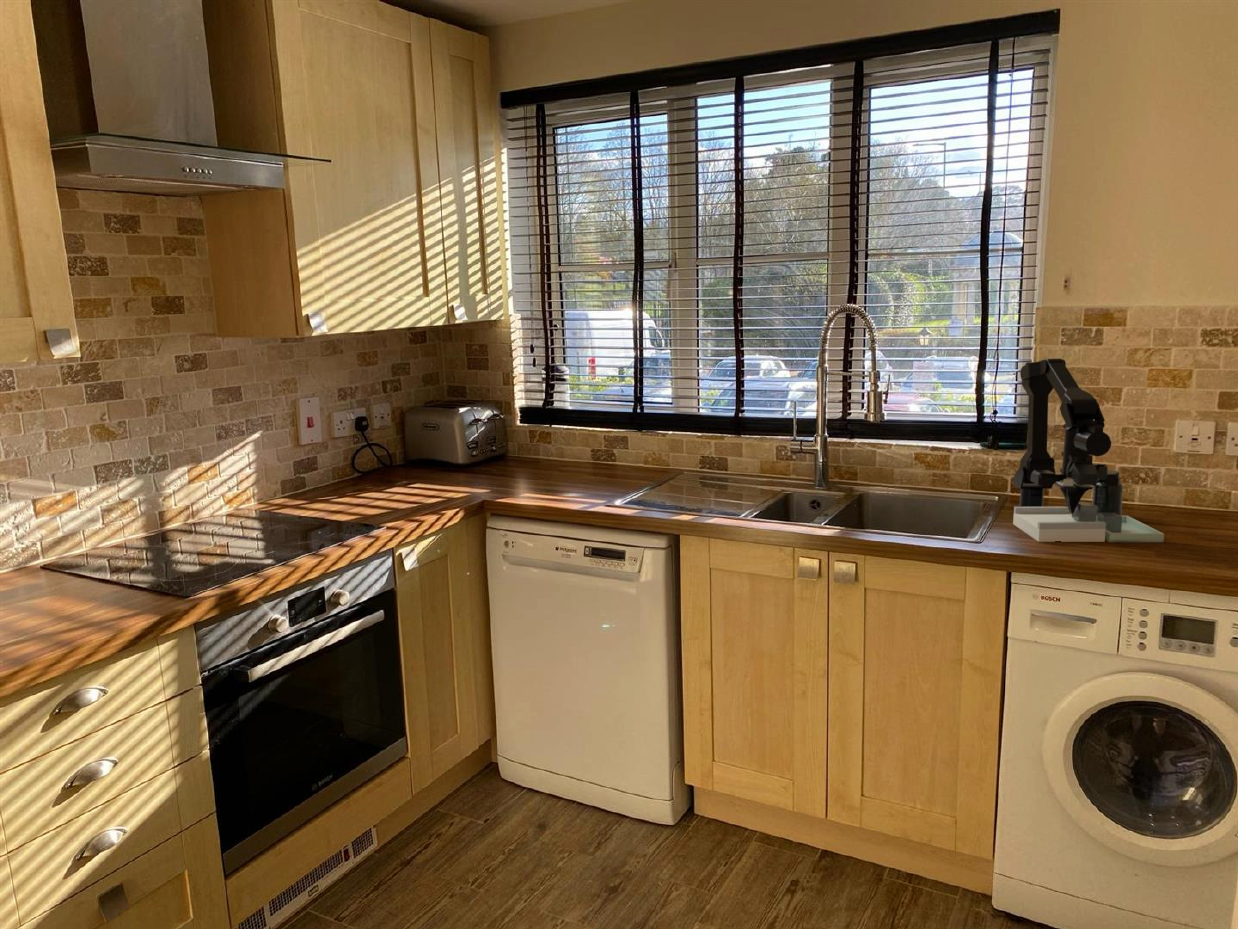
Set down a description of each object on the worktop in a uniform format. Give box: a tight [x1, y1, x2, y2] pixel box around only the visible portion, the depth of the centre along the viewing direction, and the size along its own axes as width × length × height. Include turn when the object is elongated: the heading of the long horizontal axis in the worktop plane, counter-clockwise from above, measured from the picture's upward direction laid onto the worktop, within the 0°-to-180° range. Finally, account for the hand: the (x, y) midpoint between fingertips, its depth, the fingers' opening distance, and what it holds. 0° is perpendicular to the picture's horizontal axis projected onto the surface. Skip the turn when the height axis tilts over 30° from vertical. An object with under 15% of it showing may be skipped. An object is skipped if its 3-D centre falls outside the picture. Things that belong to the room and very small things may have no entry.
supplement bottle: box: [1091, 469, 1124, 516], centre depth 236 cm, size 7×7×12 cm
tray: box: [1095, 515, 1165, 543], centre depth 221 cm, size 18×12×2 cm, turn 176°
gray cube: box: [1097, 513, 1123, 533], centre depth 221 cm, size 4×4×4 cm
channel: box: [1012, 506, 1106, 543], centre depth 222 cm, size 17×15×4 cm
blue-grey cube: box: [1072, 501, 1098, 522], centre depth 221 cm, size 4×4×4 cm
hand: (1071, 513), depth 221 cm, fingers closed
